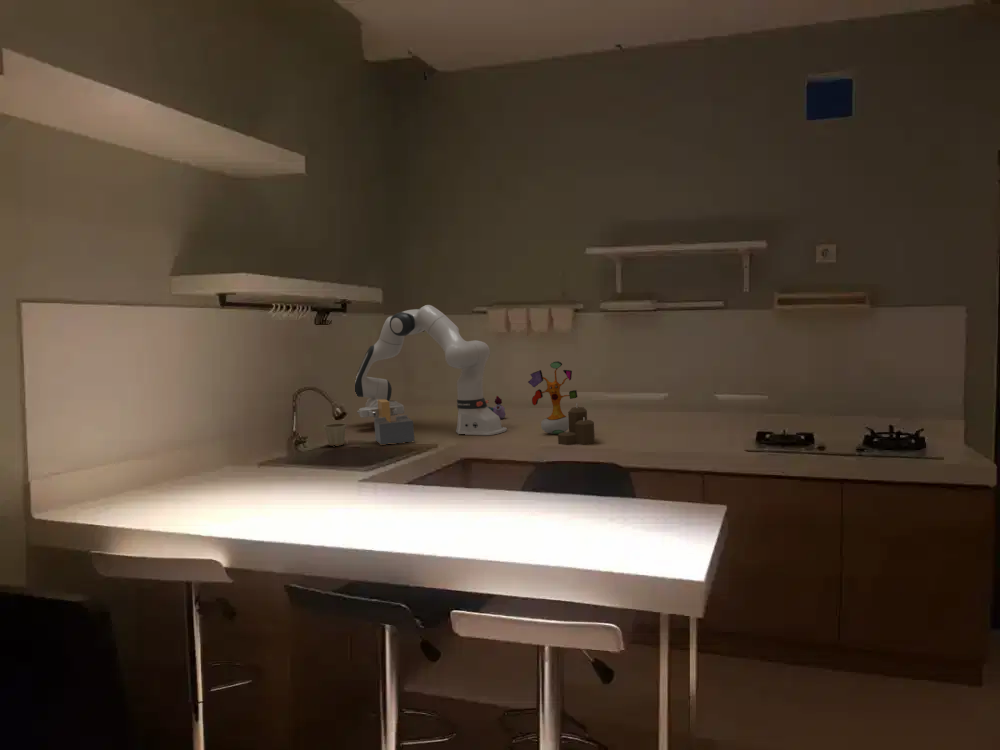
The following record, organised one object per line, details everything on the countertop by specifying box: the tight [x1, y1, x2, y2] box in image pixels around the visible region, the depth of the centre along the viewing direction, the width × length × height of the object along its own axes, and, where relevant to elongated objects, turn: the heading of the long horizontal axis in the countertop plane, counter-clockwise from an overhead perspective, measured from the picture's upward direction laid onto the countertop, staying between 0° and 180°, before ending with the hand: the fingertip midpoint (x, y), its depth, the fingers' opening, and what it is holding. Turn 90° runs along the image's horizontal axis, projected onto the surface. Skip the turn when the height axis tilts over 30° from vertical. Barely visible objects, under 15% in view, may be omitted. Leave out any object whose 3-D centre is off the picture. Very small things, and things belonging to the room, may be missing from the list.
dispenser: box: [373, 414, 415, 444], centre depth 349 cm, size 12×14×10 cm
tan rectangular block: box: [378, 399, 392, 422], centre depth 375 cm, size 10×4×14 cm, turn 18°
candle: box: [557, 402, 595, 446], centre depth 329 cm, size 14×14×15 cm
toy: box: [487, 395, 506, 420], centre depth 394 cm, size 10×15×15 cm
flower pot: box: [323, 422, 347, 445], centre depth 348 cm, size 9×9×9 cm
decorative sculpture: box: [527, 360, 578, 435], centre depth 347 cm, size 20×8×30 cm, turn 76°
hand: (384, 413), depth 374 cm, fingers open, 8 cm apart
